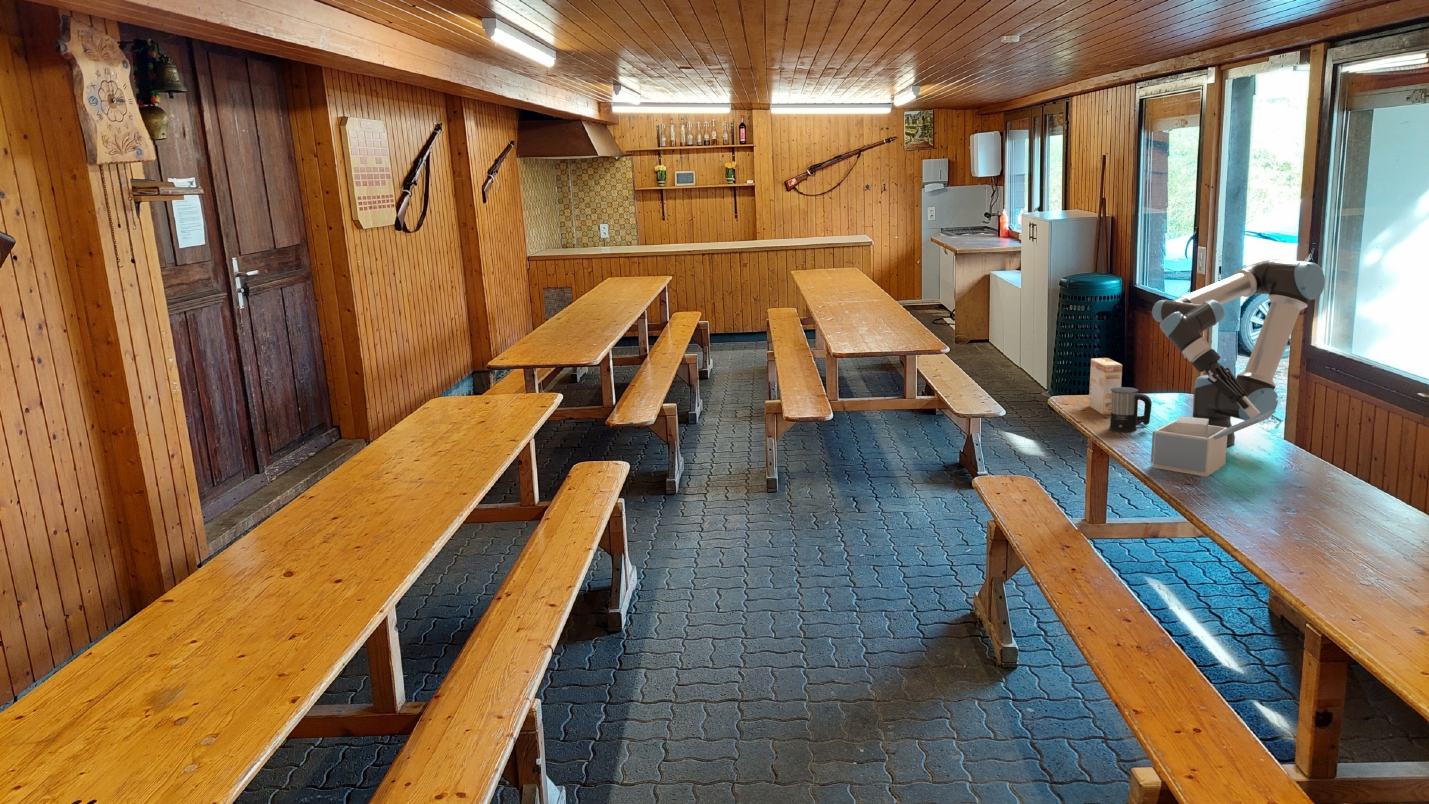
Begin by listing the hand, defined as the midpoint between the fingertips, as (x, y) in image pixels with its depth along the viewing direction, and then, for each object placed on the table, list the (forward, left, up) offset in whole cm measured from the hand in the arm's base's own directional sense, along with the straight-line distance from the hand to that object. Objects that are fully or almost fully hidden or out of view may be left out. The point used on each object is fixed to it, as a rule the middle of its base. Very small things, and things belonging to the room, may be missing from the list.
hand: (1256, 415), depth 295 cm
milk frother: (-36, -52, -19) cm, 67 cm away
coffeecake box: (-56, -70, -19) cm, 92 cm away
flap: (0, -9, -7) cm, 12 cm away
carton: (0, -18, -19) cm, 26 cm away
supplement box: (0, -18, -19) cm, 26 cm away
